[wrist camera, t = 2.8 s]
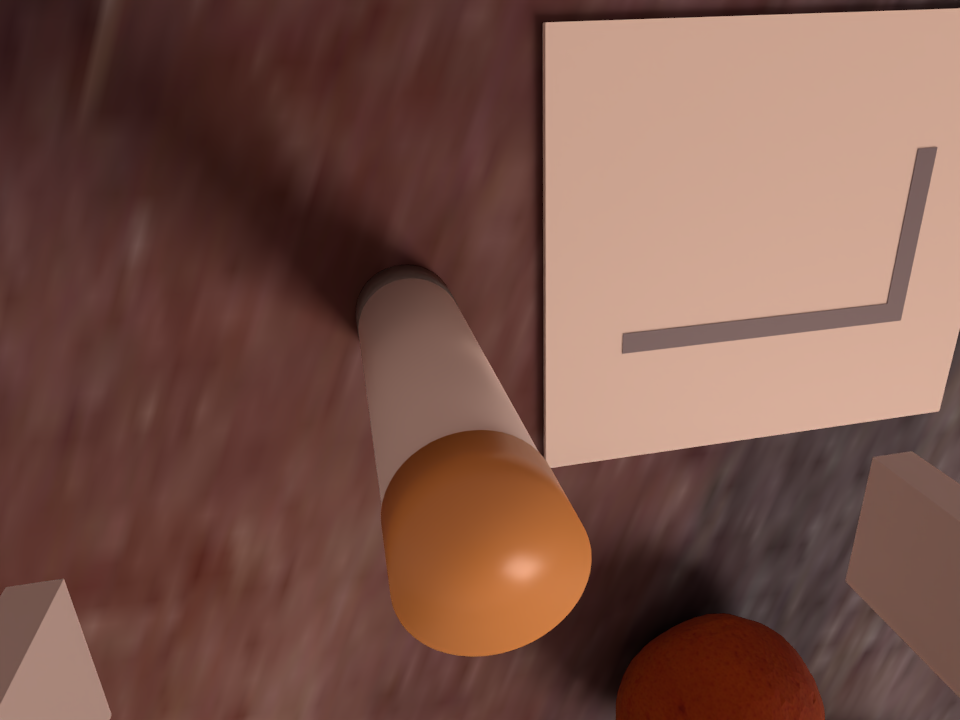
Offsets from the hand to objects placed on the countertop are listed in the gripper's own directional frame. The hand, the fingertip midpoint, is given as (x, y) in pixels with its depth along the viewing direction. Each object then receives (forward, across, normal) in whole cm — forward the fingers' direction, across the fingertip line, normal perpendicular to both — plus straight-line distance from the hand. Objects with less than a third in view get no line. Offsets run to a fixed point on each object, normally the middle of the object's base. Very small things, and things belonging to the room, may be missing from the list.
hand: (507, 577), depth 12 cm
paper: (+14, +14, +1) cm, 20 cm away
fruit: (+14, +12, -19) cm, 27 cm away
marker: (+14, 0, 0) cm, 14 cm away
